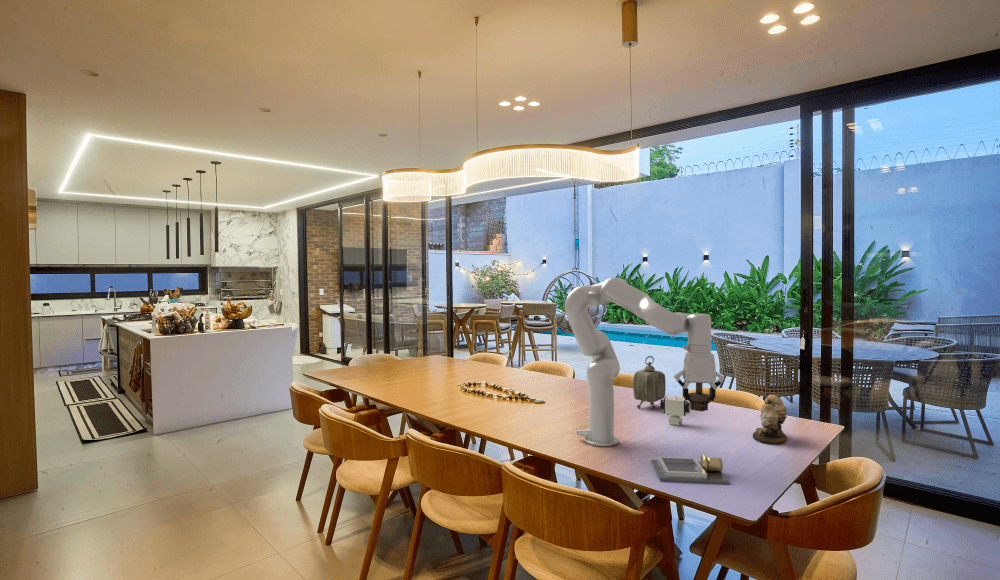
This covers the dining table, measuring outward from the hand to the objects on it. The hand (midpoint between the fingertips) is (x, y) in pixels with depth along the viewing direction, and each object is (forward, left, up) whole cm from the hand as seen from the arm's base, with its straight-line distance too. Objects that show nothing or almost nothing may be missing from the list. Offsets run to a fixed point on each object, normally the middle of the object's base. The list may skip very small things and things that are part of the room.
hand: (698, 399), depth 175 cm
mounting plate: (-8, -17, -20) cm, 27 cm away
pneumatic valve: (0, +40, -20) cm, 45 cm away
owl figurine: (+32, +24, -20) cm, 45 cm away
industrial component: (-1, 0, -4) cm, 4 cm away
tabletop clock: (-6, +68, -20) cm, 72 cm away
